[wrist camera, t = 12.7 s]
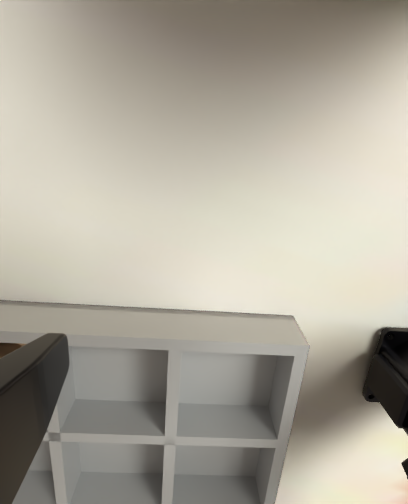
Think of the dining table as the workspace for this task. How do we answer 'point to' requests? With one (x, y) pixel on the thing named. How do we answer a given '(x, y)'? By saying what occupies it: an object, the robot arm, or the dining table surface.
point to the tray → (163, 404)
